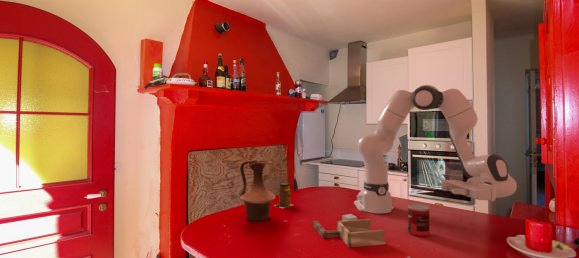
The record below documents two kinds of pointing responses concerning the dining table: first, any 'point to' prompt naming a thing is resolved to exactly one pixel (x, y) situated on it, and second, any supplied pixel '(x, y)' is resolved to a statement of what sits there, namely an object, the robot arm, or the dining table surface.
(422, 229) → the canned food
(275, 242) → the dining table surface
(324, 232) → the crook tool
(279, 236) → the dining table surface
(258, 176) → the pitcher
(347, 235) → the cubby
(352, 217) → the block
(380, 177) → the robot arm
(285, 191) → the condiment
